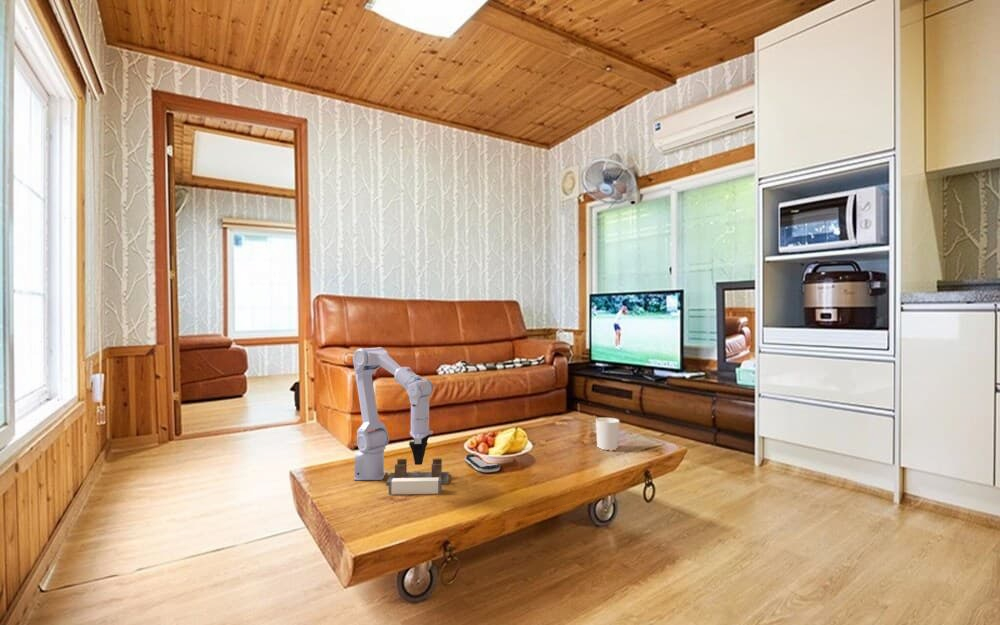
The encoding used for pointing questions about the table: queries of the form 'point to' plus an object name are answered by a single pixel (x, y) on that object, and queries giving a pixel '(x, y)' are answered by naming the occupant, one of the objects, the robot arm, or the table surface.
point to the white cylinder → (607, 433)
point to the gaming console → (481, 465)
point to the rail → (415, 485)
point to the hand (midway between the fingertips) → (419, 460)
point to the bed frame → (402, 472)
